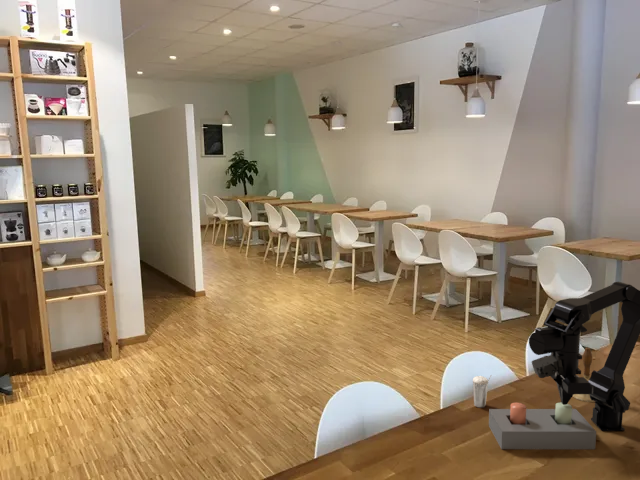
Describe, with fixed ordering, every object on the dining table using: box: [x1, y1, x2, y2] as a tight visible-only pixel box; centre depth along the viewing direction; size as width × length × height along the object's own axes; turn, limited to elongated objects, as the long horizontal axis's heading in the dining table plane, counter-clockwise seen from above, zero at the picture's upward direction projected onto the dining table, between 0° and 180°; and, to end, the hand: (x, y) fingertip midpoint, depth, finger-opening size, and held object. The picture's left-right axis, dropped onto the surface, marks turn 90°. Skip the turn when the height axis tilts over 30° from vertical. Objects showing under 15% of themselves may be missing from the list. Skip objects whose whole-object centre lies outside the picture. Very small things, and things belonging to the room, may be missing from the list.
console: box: [488, 408, 597, 450], centre depth 143 cm, size 24×12×5 cm, turn 88°
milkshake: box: [472, 375, 492, 409], centre depth 160 cm, size 4×5×10 cm
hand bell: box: [572, 347, 595, 403], centre depth 164 cm, size 8×8×16 cm
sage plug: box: [554, 401, 573, 425], centre depth 142 cm, size 4×4×5 cm
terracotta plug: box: [509, 402, 527, 425], centre depth 142 cm, size 4×4×5 cm
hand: (564, 403), depth 141 cm, fingers closed
